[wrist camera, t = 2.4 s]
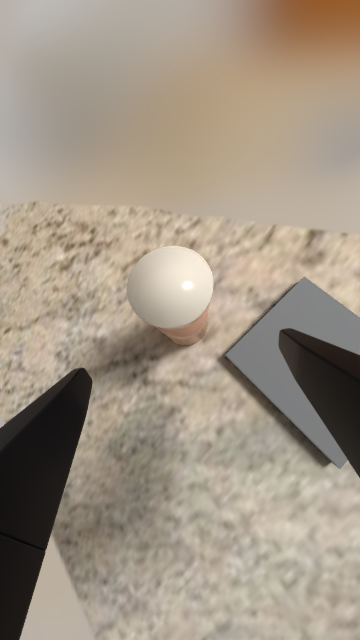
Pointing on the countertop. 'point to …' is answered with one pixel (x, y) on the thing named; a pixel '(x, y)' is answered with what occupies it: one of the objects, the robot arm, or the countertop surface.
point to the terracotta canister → (172, 292)
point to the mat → (271, 368)
